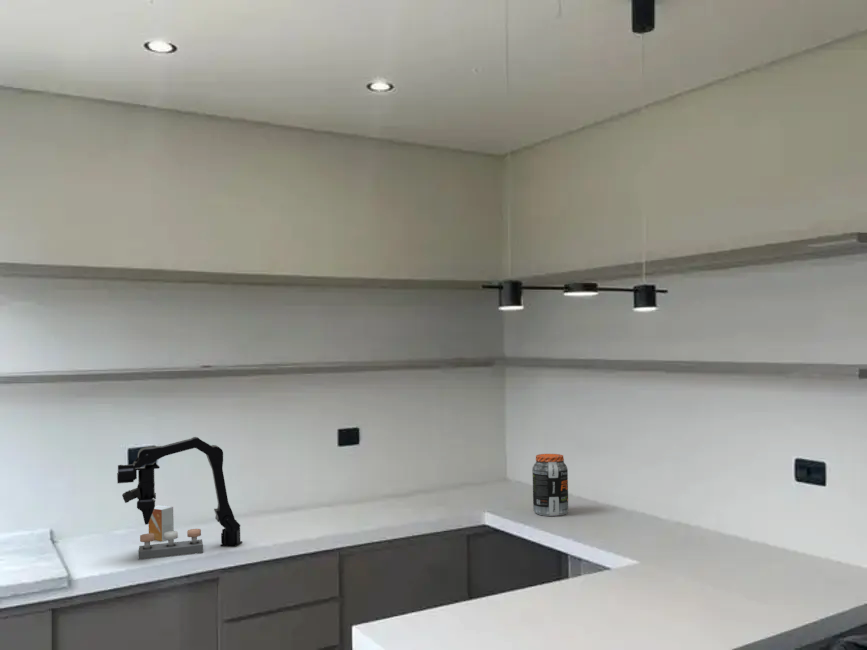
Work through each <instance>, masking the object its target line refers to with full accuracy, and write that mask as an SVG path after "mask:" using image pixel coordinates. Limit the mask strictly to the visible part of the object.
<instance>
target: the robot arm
mask: <svg viewBox="0 0 867 650" xmlns="http://www.w3.org/2000/svg"><path fill="white" fill-rule="evenodd" d="M192 449H196V450H198V451H200V452H202V453H203V454H204V455H206V458H207V461H208V463H209V466H210V468H211V471H212V476H213V477H212V478H213V483H214V489H215V494H216V499H217V508H213V511H214V513H215V520H216V522H217V523H219V525H221V526H222V527H223V528H222V530H221V535H220V539H221V540H220V541H221V542H220V547H237V546H239V545H241V544H242V543H243V540H241V524H240V523H239V521H238V520H237V519H235V515H234V512H233V510H232V508H231V505H230V503H229V498H228V492H227V486H226V481H225V476H224V471H223V465H224V451H223V449H222V448H221V447H219V446H218V445H216V444H212V445H211V444H209V443H208V442H206V441H203V440H202V439H200V438H199V437H197V436H193V437H191V438H188V439H187V438H186V439H184V440H183V439H182V440H181V441H180V440H179V441H176V442H173V443H168V444H165V445H160V446H159V445H158V446H157V445H156V446H153V445H152V446H144V447H142V448H140V449H139V450H138V452H137V457H136V459H135V460H133V462H132V464H118V465H117V473H116V478H117V482H116V483H117V484H125V483H134V481H136V480H137V476H138V480H137V481H138V484H137V486H136V488H133V489H129V490H127V491H125V492H124V493H122V500H124V503H125V504H127V503H129V502H130V501H133V500H135V499H137V501H136V509H137V510H139V511H141V513H142V514H141V515H142V517H143V521H144V525H149V521H150V518H151V515H152V513H153V510H154V508H155V506H156V499H157V497H156V495H157V493H156V492H155V489H156V488H155V483H156V482H155V470H156V469H157V470H158V469H160V465H159V464H157V463H156V461H158V460H160V459H162V458H163V457H166V456H169V455H173V454H177V453H181V452H182V453H183V452H185V451H188V450H192ZM137 474H138V475H137Z"/></svg>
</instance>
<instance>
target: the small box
mask: <svg viewBox="0 0 867 650" xmlns="http://www.w3.org/2000/svg"><path fill="white" fill-rule="evenodd" d="M174 526H175V525H174V506H169V505H163V504H162V505H161V504H159V505H155V508H154V510H153V513H152V515H151V518H150V521H149V523H148V534H149V533H151V534H154V540H153V541H158V542H164V541H166V540H165V539H164V533H165V532H169V531H175V528H174Z"/></svg>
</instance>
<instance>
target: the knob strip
mask: <svg viewBox="0 0 867 650" xmlns="http://www.w3.org/2000/svg"><path fill="white" fill-rule="evenodd" d="M195 553H197V554H203V553H204V543H203V539H197V544H192V539H190V540H183V541H174V546H170V547H168V542H164V543H162V542H161V543H154V544H150V549H145V546H144V544H143V545H139V547H138V553H137V554H138V555H137V556H138V557H137V559H138V561H142V560H149V559H158V558H160V559H161V558H167V557H177V556H187V555H194V554H195Z"/></svg>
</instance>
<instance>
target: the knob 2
mask: <svg viewBox="0 0 867 650" xmlns="http://www.w3.org/2000/svg"><path fill="white" fill-rule="evenodd" d="M186 533H187V537H188V538H191V540H192V544H197V540H198V537H200V536H202V530H201V528H191V529H188V530H187V532H186Z"/></svg>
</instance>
